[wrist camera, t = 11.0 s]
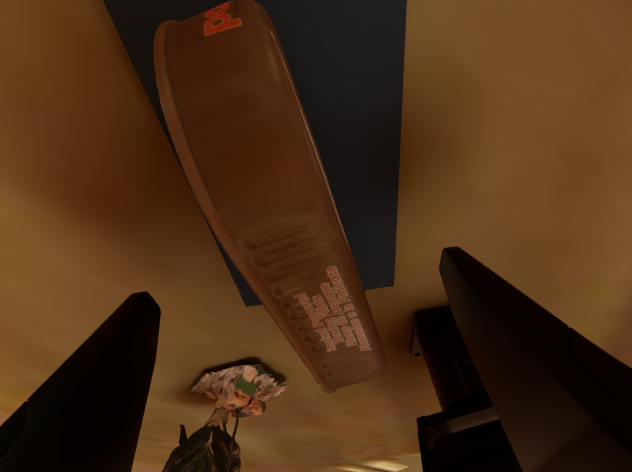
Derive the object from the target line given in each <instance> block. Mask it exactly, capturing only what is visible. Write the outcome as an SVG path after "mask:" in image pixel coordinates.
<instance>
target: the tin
mask: <svg viewBox="0 0 632 472" xmlns="http://www.w3.org/2000/svg"><path fill="white" fill-rule="evenodd" d="M153 53H154V60H153V62H154V67H155V74H156V84H157V87H158V91H159V97H160V103H161V107H162V110H163V113H164V117H165V120H166V123H167V127H168V130H169V132H170V135H171V138H172V141H173V144H174V146H175V149H176V152H177V155H178V157H179V160H180V162H181V164H182V167H183V170H184V172H185V175H186V177H187V179H188V182H189V184H190V186H191V188H192V191H193V193H194V195H195V197H196V199H197V201H198V204H199V205H200V207H201V210H202V212H203V213H204V215H205V217H206V219H207V221H208V223H209V225H210V226H211V228H212V230H213V232H214V233H215V235H216V237H217V239H218V240H219V242H220V243H221V245H222V247H223V248H224V250H225V251H226V253H227V254H228V256H229V257H230V259H231V260H232V262H233V263H234V264H235V266H236V267H237V269H238V270H239V272H240V273H241V274H242V276H243V277H244V279H245V280H246V281H247V283H248V284H249V286H250V287H251V288H252V290H253V291H254V292H255V294H256V295H257V297H258V298H259V300H260V301H261V303H262V304H263V305H264V307H265V308H266V310H267V311H268V312H269V314H270V315H271V317H272V318H273V319H274V321H275V322H276V324H277V325H278V327H279V328H280V329H281V331H282V332H283V334H284V335H285V336H286V338H287V339H288V341H289V342H290V344H291V345H292V347H293V348H294V350H295V351H296V352H297V353H298V355H299V356H300V358H301V359H302V361H303V363H304V364H305V365H306V367H307V368H308V369H309V371H310V372H311V374H312V375H313V377H314V378H315V380H316V381H317V383H318V384H319V385H320V386H321V388H322V389H323V390H324V391H325V392H327V393H333V392H335V391H336V390H337V389H339V388H342V387H345V386H349V385H352V384H356V383H359V382H363V381H366V380H370V379H373V378H376V377H378V376H381V375H383V374H384V373H386V371H387V369H388V363H387V360H386V358H385V354H384V351H383V348H382V345H381V342H380V339H379V335H378V332H377V329H376V326H375V323H374V320H373V317H372V314H371V310H370V307H369V304H368V301H367V298H366V295H365V292H364V289H363V286H362V283H361V280H360V277H359V274H358V271H357V268H356V265H355V262H354V259H353V256H352V253H351V250H350V247H349V244H348V241H347V238H346V235H345V232H344V229H343V226H342V223H341V219H340V216H339V213H338V210H337V207H336V203H335V200H334V197H333V194H332V191H331V188H330V185H329V181H328V178H327V175H326V172H325V169H324V166H323V163H322V160H321V157H320V154H319V151H318V148H317V146H316V143H315V140H314V137H313V134H312V131H311V128H310V126H309V123H308V120H307V117H306V114H305V111H304V109H303V106H302V103H301V100H300V98H299V95H298V92H297V89H296V86H295V83H294V80H293V78H292V75H291V72H290V69H289V66H288V63H287V61H286V58H285V55H284V52H283V49H282V46H281V44H280V41H279V38H278V35H277V33H276V30H275V28H274V25H273V23H272V20H271V18H270V17H269V15H268V13H267V12H266V11H265V9H264V8H263V7H262V6H260V5H259V4H258V3H256V2H255V1H254V0H231V1H228V2H226V3H224V4H221V5H219V6H217V7H215V8H212V9H210V10H208V11H206V12H203V13H201V14H199V15H196V16H194V17H191V18H188V19H186V20H183V21H180V22H179V21H176V20H169V21H165V22H163V23H161V24H160V26H159V27H158V29H157V31H156V34H155V37H154V44H153Z"/></svg>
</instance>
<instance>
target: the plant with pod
mask: <svg viewBox="0 0 632 472" xmlns="http://www.w3.org/2000/svg"><path fill="white" fill-rule="evenodd" d="M260 366H261V365H259V364H256V365H254V364H247V365H240V366H233V367H230V368H228V369H224V370H222V371H217V373H214V372H211V374H212V375H213V376H212V375H211V374H209V373H206V374H205V375H204V376H202V377H203V378H200V380H199V382H198V384H197V385H196V386H194V388H193V387H192V391H190V392H191V393H192V394H201V395H205V396H207V397H209V398H211V399H214V400H215V399H216V403H215V410H214V412H213V414H212V415H211V417H210V418H209V420H208V421H207V422H206V424H205V426H204V427H203V428H200V429H199V430H198V431H196V432H195V433H193V434H192V435H191V436H190V437H189V438H188V439H187V436H186V432H185V427H184V425H180V428H181V432H180V439H179V444H180V446H178V447H176V448H175V449H174V450H173V451H172V452H171V454H170V457H169V459H168V461H167V462H166V464H165V467H164V469H163V471H162V472H240V469H241V468H240V467H241V461H240V452H241V451H240V447H239V445H238V443H237V442H236V441H235V434H236V430H237V426H238V419H239V417H253V416H259V415H261V414H262V413H263V412H264V411H265V409H266V405H265V403H266V402H267V401H269V400H268V399H276V395H280V392H283V391H284V389H286V388H288V387H287V384H286V386H285V385H279V386H276V385H277V382H278V381H276V382H274V383H273V381H274V378H270V376H271V375H273V374H268V373H267V372H265V373H264V371H261V370H263V369H264V368H263V367H260ZM272 383H273V384H272ZM279 391H280V392H279ZM191 393H189V394H191ZM229 412H231V413H232V416H234V417H237V419H236V425H235V429H234V431H233V436H232V437H231V436H230V435H229V434H228V433H227V431H226V424H227V422H228V415H229Z"/></svg>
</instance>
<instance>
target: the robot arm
mask: <svg viewBox="0 0 632 472" xmlns="http://www.w3.org/2000/svg"><path fill="white" fill-rule="evenodd" d="M439 270H440V275H441V278H442V281H443V285H444V288H445V291H446V294H447V297H448V300H449V304H450V306H449V307H442V308H435V309H427V310H421V311H418V312H416V313H415V315H414V323H413V331H412V339H411V347H410V353H411V356H412V357H423V356H424V359H425V362H426V365H427V368H428V371H429V373H430V376H431V379H432V382H433V385H434V388H435V391H436V394H437V397H438V400H439V403H440V406H441V409H442V411H441V412H438V413H435V414H432V415H429V416H421V417H418V418H417V426H418V439H419V446H420V453H421V461H422V467H423V472H632V368H630V367H629V366H627V365H625V364H624V363H622V362H621V361H619V360H618V359H616V358H615V357H613V356H611V355H610V354H608V353H607V352H605V351H604V350H602V349H601V348H599V347H598V346H597V345H595V344H594V343H592V342H591V341H589V340H588V339H586V338H585V337H584V336H582V335H581V334H579V333H578V332H577V331H575V330H574V329H572V328H571V327H569V328H568V325H567V324H565V323H564V322H563V321H561V320H560V319H558V318H557V317H556V316H554V315H553V314H551V313H550V312H549V311H547V310H546V309H544V308H543V307H542V306H540V305H539V304H537V303H536V302H535V301H533V300H532V299H531V298H529V297H528V296H526V295H525V294H524V293H522V292H521V291H519V290H518V289H517V288H515V287H514V286H512V285H511V284H510V283H508V282H507V281H505V280H504V279H503V278H501V277H500V276H499V275H497V274H496V273H494V272H493V271H492V270H490V269H489V268H487V267H486V266H485V265H483V264H482V263H480V262H479V261H478V260H476V259H475V258H473V257H472V256H471V255H469V254H468V253H467V252H465V251H464V250H462V249H461V248H459V247H457V246H454V247H447V248H444V249H443V250H442V255H441V260H440V266H439ZM160 317H161V310H160V307H159V305H158V304H157V303H156V302H155V300H154V299H153V298H152V296H151V295H150V294H149V293H148V292H138V293H133V294H131V295H130V296H129V297H128V298H127V299H126V300H125V301H124V302H123V303H122V304H121V305H120V306H119V307H118V308H117V309H116V310H115V311H114V312H113V313H112V314H111V315H110V316H109V317H108V318H107V319H106V320H105V321H104V322H103V323H102V324H101V326H100V327H99V328H98V329H97V330H96V331H95V332H94V333H93V334H92V335H91V336H90V337H89V338H88V339H87V340H86V341H85V342H84V343H83V344H82V345H81V346H80V347H79V348H78V349H77V350H76V351H75V352H74V353H73V354H72V355H71V356H70V357H69V358H68V359H67V360H66V361H65V362H64V363H63V364H62V365H61V366H60V367H59V368H58V369H57V370H56V371H55V372H54V373H53V374H52V375H51V376H50V377H49V378H48V379H47V380H46V381H45V382H44V383H43V384H42V385H41V386H40V387H39V388H38V389H37V390H36V391H35V392H34V393H33V394H32V395H31V396H30V397H29V398H28V401H25V402H24V403H23V404H22V405H21V406H20V407H19V408H18V409H17V410H16V411H15V412H14V413H13V414H12V415H11V416H10V417H9V418H8V419H7V420H6V421H5V422H4V423H3V424H2V425H1V426H0V472H131V470H132V465H133V461H134V456H135V452H136V447H137V442H138V438H139V433H140V429H141V424H142V420H143V415H144V411H145V406H146V402H147V397H148V393H149V388H150V384H151V379H152V375H153V370H154V366H155V361H156V354H157V345H158V335H159V326H160Z"/></svg>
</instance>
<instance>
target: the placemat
mask: <svg viewBox="0 0 632 472" xmlns="http://www.w3.org/2000/svg"><path fill="white" fill-rule="evenodd" d="M103 1H104V3H105V6H106V8H107V10H108V12H109V14H110V16H111V18H112V20H113V23H114V25H115V27H116V29H117V31H118V33H119V35H120V38H121V40H122V42H123V44H124V46H125V48H126V50H127V53H128V55H129V57H130V59H131V61H132V63H133V65H134V68H135V70H136V72H137V74H138V76H139V78H140V80H141V83H142V85H143V87H144V89H145V91H146V93H147V95H148V98H149V100H150V102H151V104H152V106H153V108H154V110H155V113H156V115H157V117H158V119H159V121H160V123H161V125H162V128H163V130H164V132H165V134H166V136H167V138H168V140H169V142H170V145H171V147H172V149H173V151H174V153H175V155H176V157H177V160H178V162H179V164H180V166H181V168H182V170H183V167H182V164H181V162H180V160H179V157H178V155H177V152H176V149H175V146H174V144H173V141H172V138H171V135H170V132H169V130H168V127H167V123H166V120H165V117H164V113H163V110H162V107H161V103H160V97H159V91H158V87H157V84H156V74H155V67H154V62H153V60H154V53H153V44H154V37H155V34H156V31H157V29H158V27H159V26H160V24H161V23H163V22H165V21H169V20H176V21H179V22H180V21H183V20H186V19H188V18H191V17H194V16H196V15H199V14H201V13H203V12H206V11H208V10H210V9H212V8H215V7H217V6H219V5H221V4H224V3H226V2H228V1H231V0H103ZM254 1H255V2H256V3H258V4H259V5H260V6H262V7H263V8H264V9H265V11H266V12H267V13H268V15H269V17H270V18H271V20H272V23H273V25H274V28H275V30H276V33H277V35H278V38H279V41H280V44H281V46H282V49H283V52H284V55H285V58H286V61H287V63H288V66H289V69H290V72H291V75H292V78H293V80H294V83H295V86H296V89H297V92H298V95H299V98H300V100H301V103H302V106H303V109H304V111H305V114H306V117H307V120H308V123H309V126H310V128H311V131H312V134H313V137H314V140H315V143H316V146H317V148H318V151H319V154H320V157H321V160H322V163H323V166H324V169H325V172H326V175H327V178H328V181H329V185H330V188H331V191H332V194H333V197H334V200H335V203H336V207H337V210H338V213H339V216H340V219H341V223H342V226H343V229H344V232H345V235H346V238H347V241H348V244H349V247H350V250H351V253H352V256H353V259H354V262H355V265H356V268H357V271H358V274H359V277H360V280H361V283H362V286H363V289H364V290H368V289H375V288H382V287H389V286H394V270H395V248H396V226H397V204H398V182H399V160H400V138H401V116H402V94H403V72H404V50H405V28H406V6H407V0H254ZM183 172H184V170H183ZM184 175H185V172H184ZM185 177H186V175H185ZM186 179H187V177H186ZM187 181H188V179H187ZM188 183H189V182H188ZM189 185H190V184H189ZM190 187H191V186H190ZM191 190H192V188H191ZM192 192H193V191H192ZM193 194H194V193H193ZM194 196H195V195H194ZM195 198H196V197H195ZM196 200H197V199H196ZM197 202H198V201H197ZM198 205H199V204H198ZM199 207H200V205H199ZM200 209H201V207H200ZM201 211H202V210H201ZM202 213H203V212H202ZM203 215H204V213H203ZM204 217H205V215H204ZM205 220H206V222H207V224H208V226H209V228H210V230H211V232H212V235H213V237H214V239H215V241H216V243H217V245H218V247H219V249H220V252H221V254H222V256H223V258H224V260H225V262H226V264H227V267H228V269H229V271H230V273H231V275H232V277H233V279H234V282H235V284H236V286H237V288H238V290H239V292H240V294H241V297H242V299H243V301H244V303H245V305H246V307H248V306H255V305H262V303H261V301H260V300H259V298H258V297H257V295H256V294H255V292H254V291H253V290H252V288H251V287H250V286H249V284H248V283H247V281H246V280H245V279H244V277H243V276H242V274H241V273H240V272H239V270H238V269H237V267H236V266H235V264H234V263H233V262H232V260H231V259H230V257H229V256H228V254H227V253H226V251H225V250H224V248H223V247H222V245H221V243H220V242H219V240H218V239H217V237H216V235H215V233H214V232H213V230H212V228H211V226H210V225H209V223H208V221H207V219H206V217H205Z"/></svg>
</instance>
